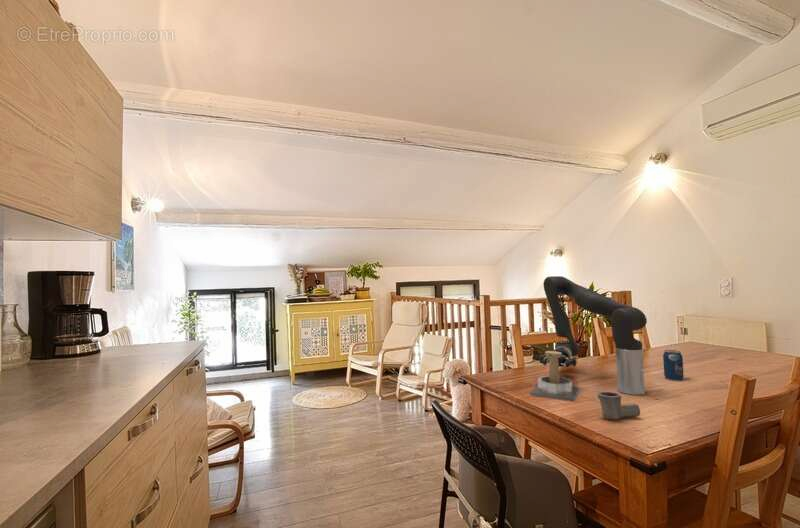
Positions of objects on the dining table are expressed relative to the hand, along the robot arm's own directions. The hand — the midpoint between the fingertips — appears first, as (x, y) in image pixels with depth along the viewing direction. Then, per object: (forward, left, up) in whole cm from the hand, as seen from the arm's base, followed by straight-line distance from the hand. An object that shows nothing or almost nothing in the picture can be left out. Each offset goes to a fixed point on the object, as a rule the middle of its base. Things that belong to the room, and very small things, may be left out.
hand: (555, 363), depth 154 cm
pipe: (-23, +21, -11) cm, 33 cm away
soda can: (-42, -39, -11) cm, 59 cm away
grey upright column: (0, +2, -10) cm, 10 cm away
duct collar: (0, +3, -11) cm, 11 cm away
